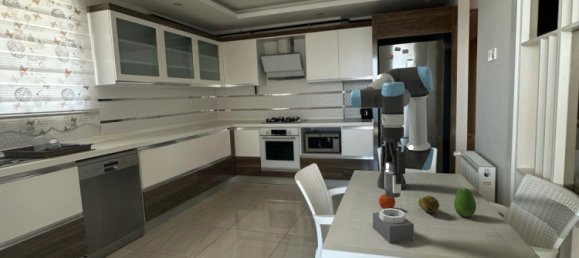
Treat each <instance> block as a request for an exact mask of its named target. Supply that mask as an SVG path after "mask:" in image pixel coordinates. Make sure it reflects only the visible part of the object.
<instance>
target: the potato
mask: <svg viewBox="0 0 579 258" xmlns="http://www.w3.org/2000/svg"><path fill="white" fill-rule="evenodd" d="M418 206H419V207H420V208H421V209H422V210H424V211H425V212H427V213H436V211H438V210H439V208H440V203H439V200H438V199H437V198H436V197H435V196H431V195H425V196H421V197H419V199H418Z"/></svg>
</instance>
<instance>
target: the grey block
mask: <svg viewBox="0 0 579 258" xmlns="http://www.w3.org/2000/svg"><path fill="white" fill-rule="evenodd" d="M414 224H415V223H413V222H412V221H411V220H409V219H408V218H406V212H404V211H403V210H402V209H398V208H389V209H383V208H382V209H381V210H380V211H377V212H372V229H374V230H375V231H376V232H377V233H378V234H379V235H380V236H381V237H382V238H383V239H384V240H385V241H387V243H389V244H395V243H403V242H404V243H405V242H410V241H411V242H412V241H414V237H415V236H414V234H415V233H414V228H415V227H414Z"/></svg>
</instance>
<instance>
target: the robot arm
mask: <svg viewBox="0 0 579 258" xmlns="http://www.w3.org/2000/svg"><path fill="white" fill-rule="evenodd" d="M433 80H434V79H433V73H432V71H431V68H430V67H429V66H420V65H419V66H408V67H395V68H390V69H389V70H386V71H384V72H382V73H380V74H378V75H377V76H376V78H375V80H374V81H372V82H371V83H370V84H368V85H367V86H365V87H364V88H362V89H359V88H358V89H353V90H352V91H351V93H350V96H349V99H350V101H349V102H350V105H351V107H352V108H354V109H381V118H380V119H381V125H382V127H381V137H383V138H385V139H384V140H382V141H380V146H381V147H380V154H379V155H380V172H379V176H378V178H377V181H376V184H377V187H378V188H381V189H384V190H385V162H387V161H393V167H394V174H393V193H400V194H401V193H402V190H404V189H406V188H407V181H406V177H405V174H406V170H416V171H430V170H431V168H432V165H433V159H434V158H433V157H434V152H435V149H434V148H433V147H431V143H430V142H428V123H427V121H428V119H427V98H428V97H429V96H430V94H431V92H432V91H433V90H434V81H433ZM405 107H407V122H408V142H407V144H406V145H404V144H403V143H402V140H401V139H402V138H404V136H405Z"/></svg>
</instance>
